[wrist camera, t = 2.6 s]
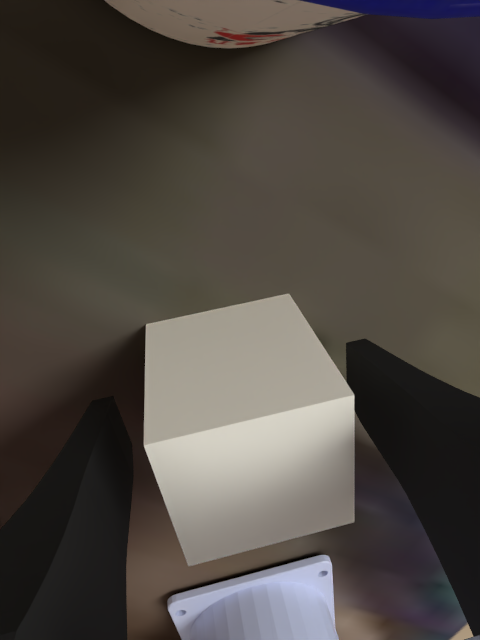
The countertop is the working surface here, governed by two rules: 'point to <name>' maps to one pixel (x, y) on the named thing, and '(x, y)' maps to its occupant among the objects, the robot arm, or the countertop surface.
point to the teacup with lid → (271, 17)
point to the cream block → (247, 428)
